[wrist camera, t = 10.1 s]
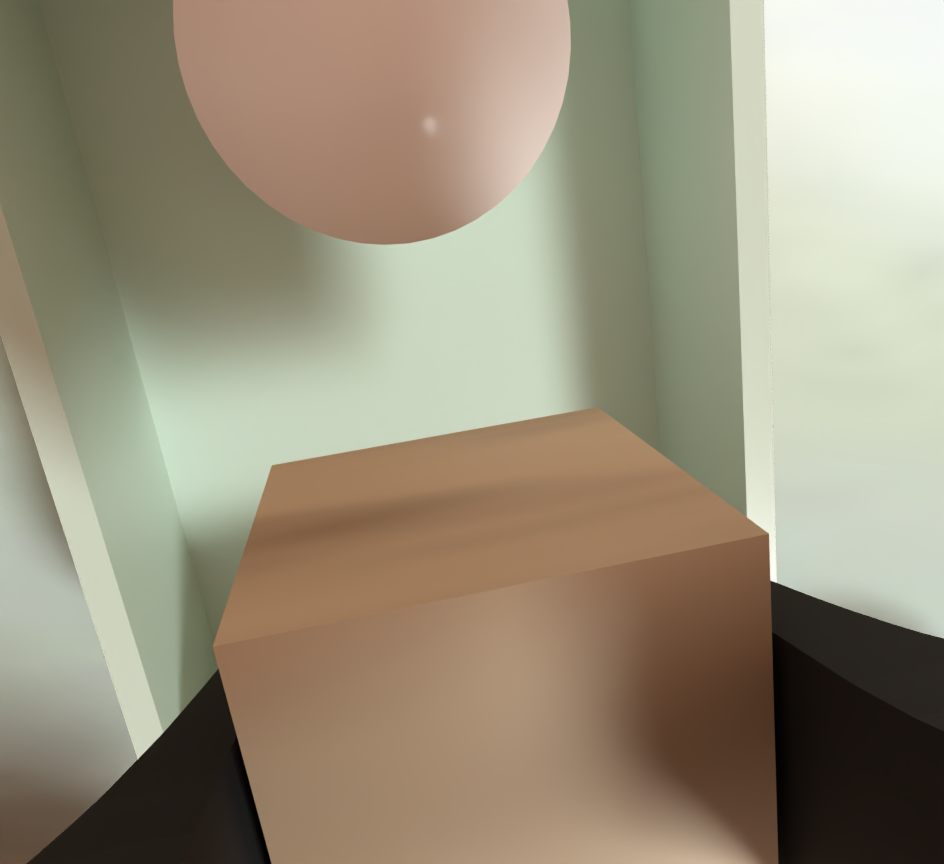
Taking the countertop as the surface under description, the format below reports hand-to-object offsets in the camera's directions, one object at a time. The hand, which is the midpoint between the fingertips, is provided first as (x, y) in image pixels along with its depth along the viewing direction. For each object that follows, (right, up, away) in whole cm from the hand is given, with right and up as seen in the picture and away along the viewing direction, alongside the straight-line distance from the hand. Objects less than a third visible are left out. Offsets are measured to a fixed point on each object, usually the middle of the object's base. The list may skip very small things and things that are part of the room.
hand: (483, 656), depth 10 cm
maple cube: (0, +1, +2) cm, 2 cm away
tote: (-2, +6, +7) cm, 10 cm away
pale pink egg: (-2, +10, +6) cm, 12 cm away
